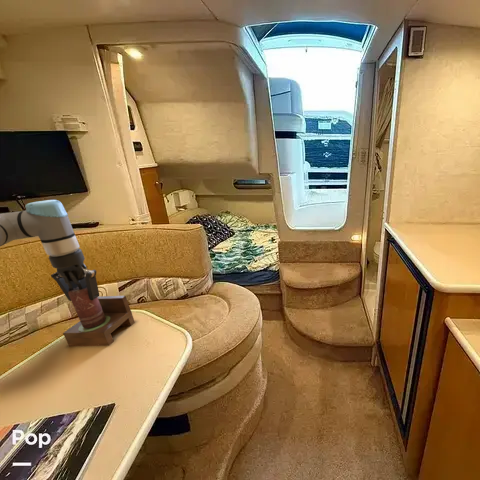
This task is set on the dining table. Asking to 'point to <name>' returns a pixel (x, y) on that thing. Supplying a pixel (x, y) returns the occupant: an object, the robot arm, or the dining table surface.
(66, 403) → the dining table surface
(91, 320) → the can
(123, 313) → the green-ringed wooden stand
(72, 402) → the dining table surface
